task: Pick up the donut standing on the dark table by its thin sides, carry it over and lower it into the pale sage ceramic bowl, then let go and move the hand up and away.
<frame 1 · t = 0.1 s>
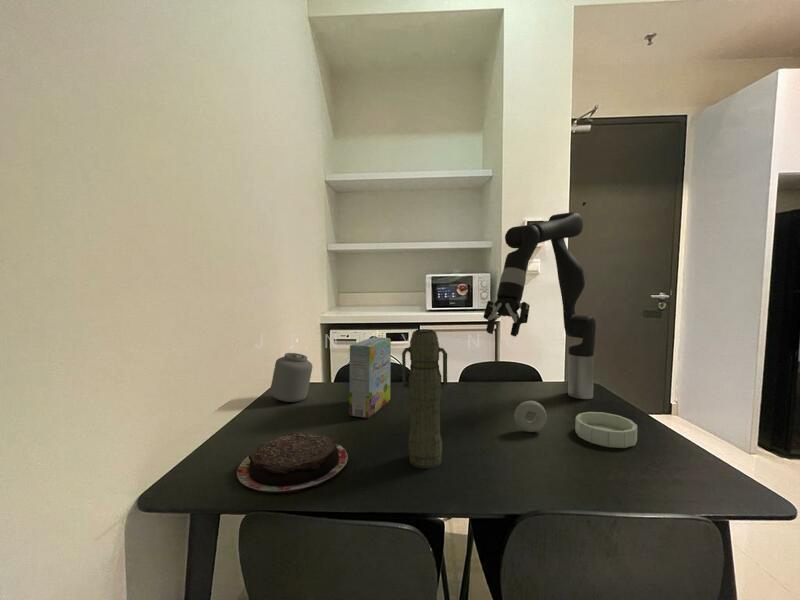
hand: (501, 334, 113), 31 cm above the table, tool tilted 20°, fingers open, 8 cm apart
donut: (530, 432, 116), on the table
bowl: (605, 435, 113), on the table
snack box: (371, 408, 140), on the table
chocolate cake: (294, 466, 97), on the table
jar: (294, 399, 151), on the table
thermos: (425, 461, 98), on the table
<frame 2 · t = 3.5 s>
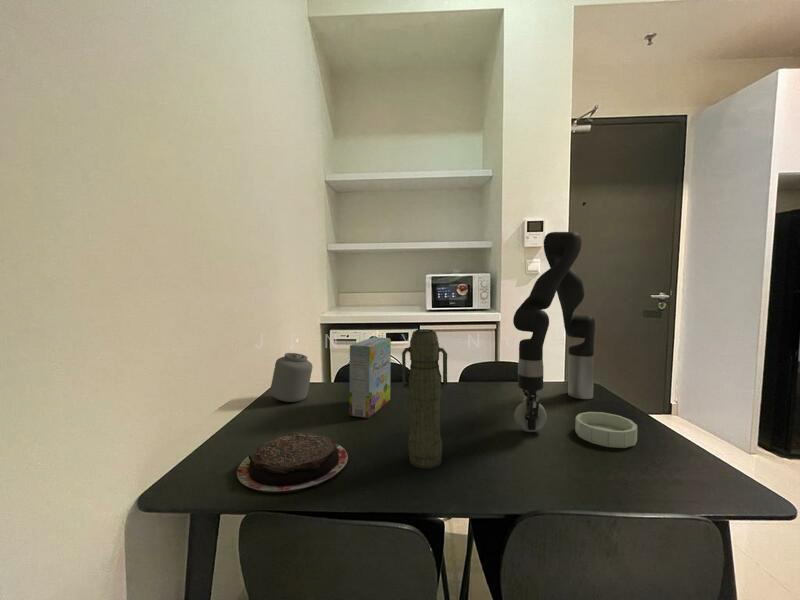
hand: (530, 426, 116), 2 cm above the table, tool pointing down, fingers closed on donut, 3 cm apart
donut: (530, 432, 116), on the table, touching gripper
everything else where it was.
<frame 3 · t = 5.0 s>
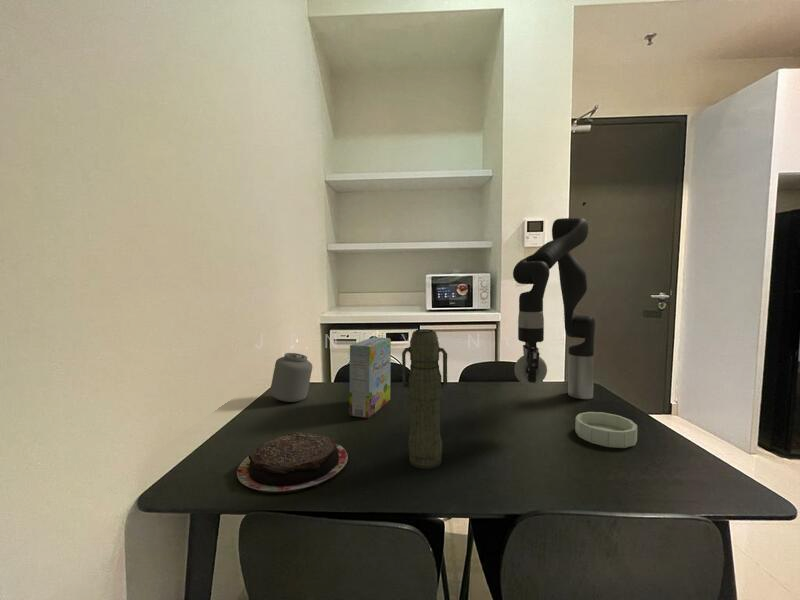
hand: (530, 379, 115), 17 cm above the table, tool pointing down, fingers closed on donut, 3 cm apart
donut: (530, 386, 115), point 15 cm above the table, touching gripper
everything else where it was.
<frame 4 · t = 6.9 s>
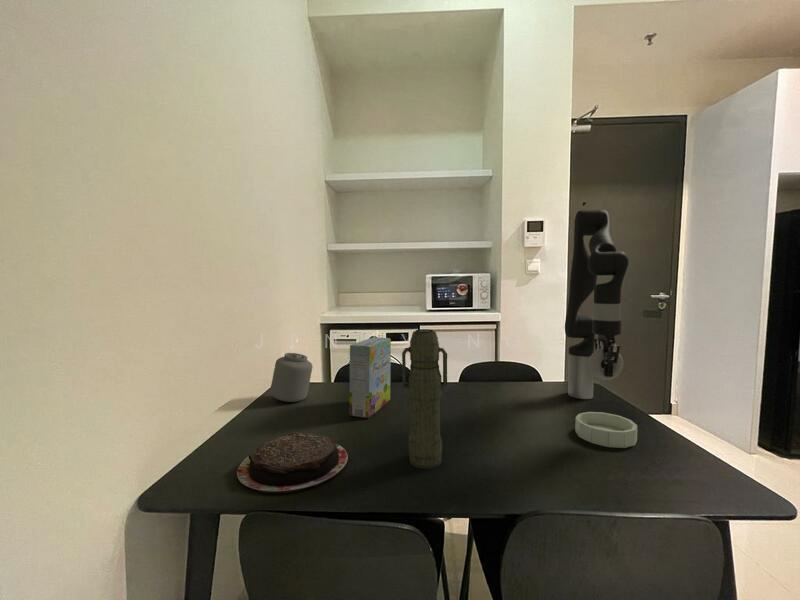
hand: (605, 374, 112), 19 cm above the table, tool pointing down, fingers closed on donut, 3 cm apart
donut: (605, 380, 112), point 17 cm above the table, touching gripper
everything else where it was.
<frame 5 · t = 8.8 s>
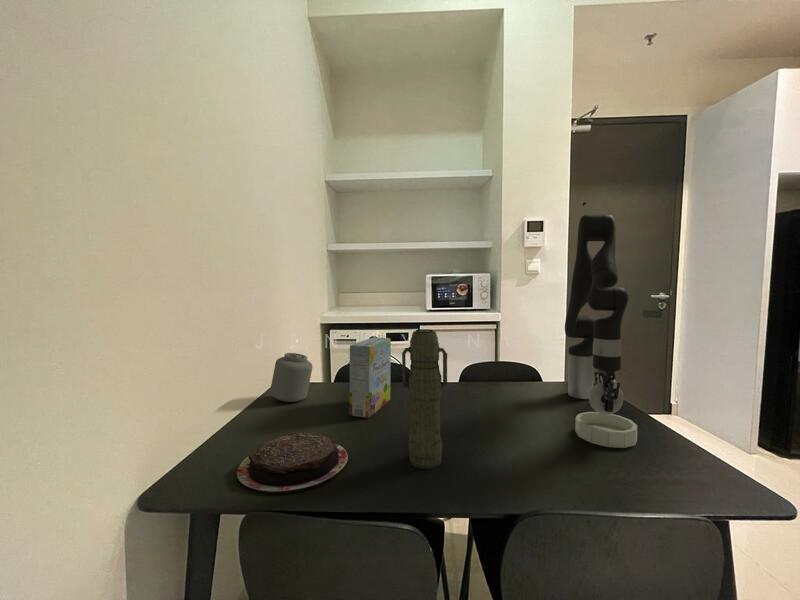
hand: (605, 408, 112), 8 cm above the table, tool pointing down, fingers closed on donut, 3 cm apart
donut: (605, 415, 112), point 6 cm above the table, touching gripper
everything else where it was.
when the fingers open (5 cm above the table, at t = 10.3 s): donut drops 2 cm, resting on bowl.
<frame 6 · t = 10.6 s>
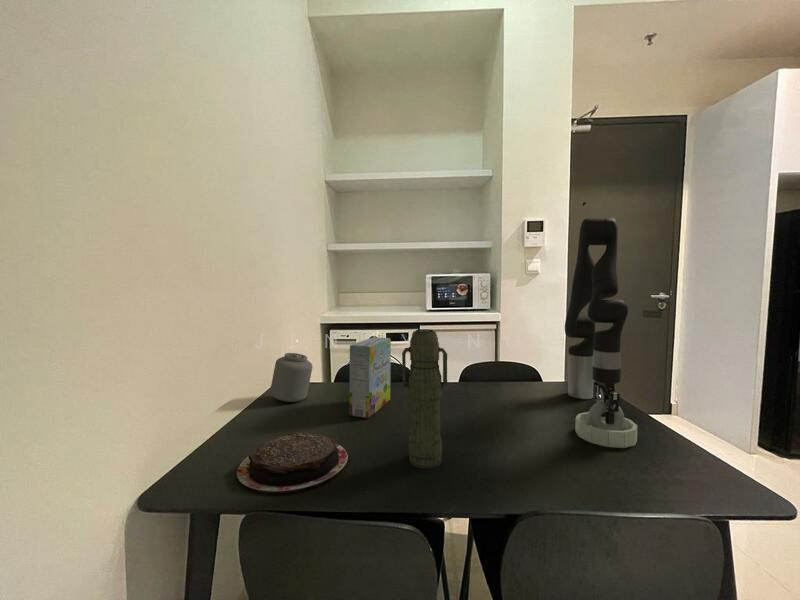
hand: (605, 419, 112), 5 cm above the table, tool pointing down, fingers open, 5 cm apart
donut: (605, 433, 112), point 1 cm above the table, touching bowl
everything else where it was.
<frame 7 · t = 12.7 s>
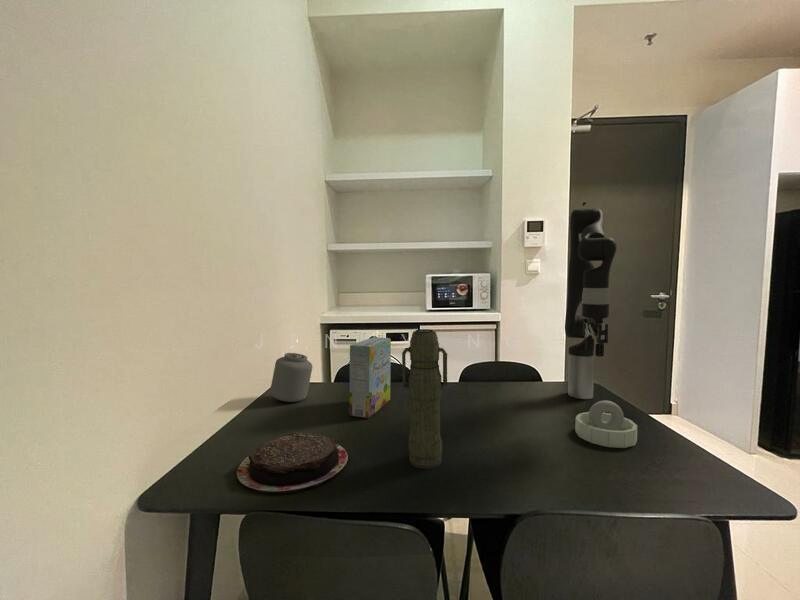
hand: (594, 353, 117), 25 cm above the table, tool pointing down, fingers open, 8 cm apart
nothing on the table moved.
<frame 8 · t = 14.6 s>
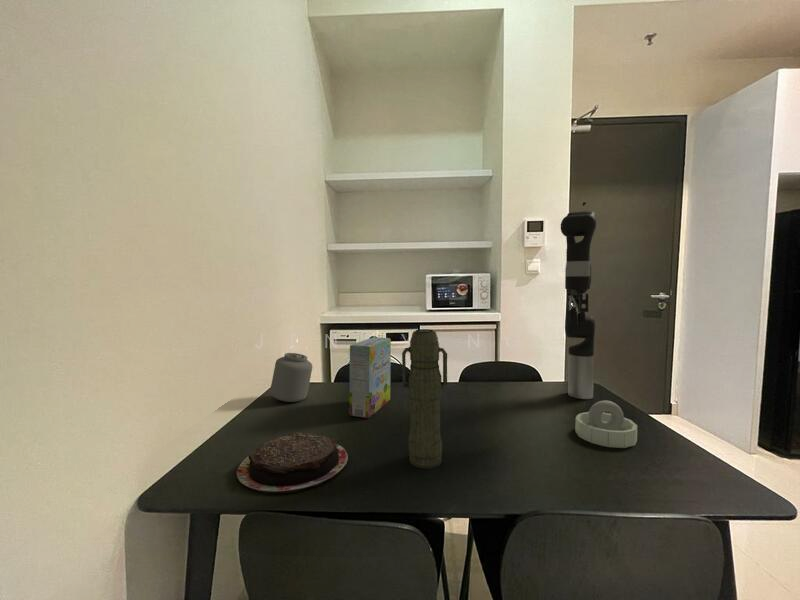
hand: (576, 323, 124), 33 cm above the table, tool pointing down, fingers open, 8 cm apart
nothing on the table moved.
at the end: donut inside the target area on the bowl (0.2 cm from its centre), point 0.8 cm above the bowl's base; the gripper is holding nothing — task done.
